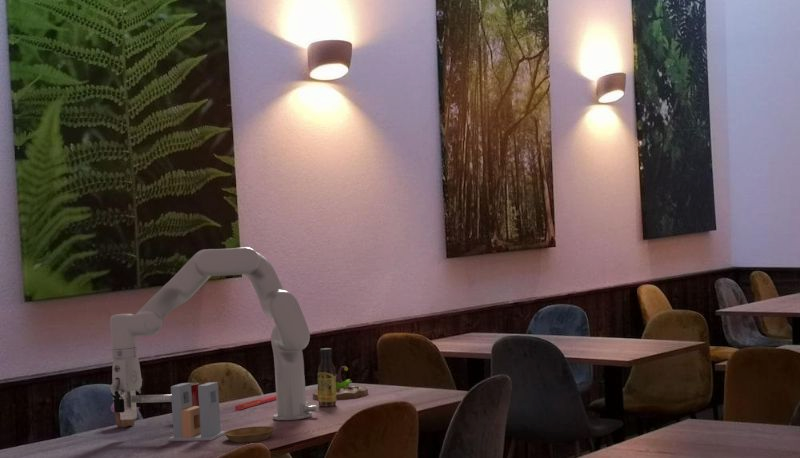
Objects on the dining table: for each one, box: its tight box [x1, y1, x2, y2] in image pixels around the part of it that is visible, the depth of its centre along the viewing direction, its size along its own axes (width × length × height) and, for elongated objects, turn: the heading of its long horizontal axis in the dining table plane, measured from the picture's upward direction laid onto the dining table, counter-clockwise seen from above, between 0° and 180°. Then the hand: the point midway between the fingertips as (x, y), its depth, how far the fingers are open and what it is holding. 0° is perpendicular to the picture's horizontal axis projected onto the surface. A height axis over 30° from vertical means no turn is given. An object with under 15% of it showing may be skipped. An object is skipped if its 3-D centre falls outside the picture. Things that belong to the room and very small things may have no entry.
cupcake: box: [110, 402, 140, 428], centre depth 357 cm, size 9×9×10 cm
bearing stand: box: [168, 381, 227, 442], centre depth 327 cm, size 14×10×16 cm
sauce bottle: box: [317, 347, 337, 408], centre depth 375 cm, size 7×6×20 cm
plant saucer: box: [224, 425, 275, 443], centre depth 319 cm, size 15×15×3 cm
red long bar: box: [234, 394, 277, 411], centre depth 389 cm, size 24×2×5 cm
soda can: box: [190, 382, 200, 407], centre depth 364 cm, size 7×7×12 cm
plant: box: [312, 365, 369, 401], centre depth 398 cm, size 20×20×11 cm
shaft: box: [119, 390, 185, 420], centre depth 331 cm, size 21×3×9 cm, turn 74°
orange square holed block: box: [181, 406, 201, 437], centre depth 327 cm, size 3×8×8 cm, turn 162°
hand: (128, 409), depth 333 cm, fingers open, 9 cm apart
